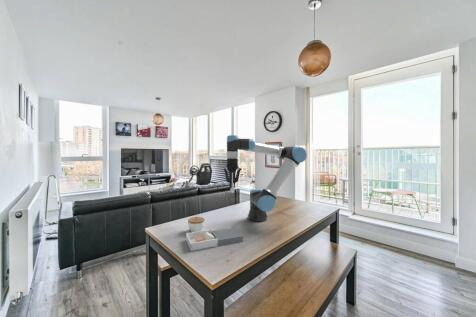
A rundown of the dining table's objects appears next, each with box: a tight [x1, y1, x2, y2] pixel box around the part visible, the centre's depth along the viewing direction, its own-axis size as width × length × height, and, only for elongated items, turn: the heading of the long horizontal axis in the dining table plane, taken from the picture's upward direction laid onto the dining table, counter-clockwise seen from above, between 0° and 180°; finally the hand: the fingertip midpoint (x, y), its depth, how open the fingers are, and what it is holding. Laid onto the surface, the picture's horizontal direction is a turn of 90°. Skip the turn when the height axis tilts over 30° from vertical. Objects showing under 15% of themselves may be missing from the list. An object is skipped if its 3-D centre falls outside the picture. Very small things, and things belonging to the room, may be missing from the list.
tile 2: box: [203, 232, 215, 240], centre depth 116 cm, size 5×5×2 cm
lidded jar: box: [187, 216, 205, 232], centre depth 132 cm, size 11×11×9 cm
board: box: [211, 227, 244, 247], centre depth 120 cm, size 15×14×3 cm
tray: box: [185, 229, 219, 252], centre depth 114 cm, size 15×15×4 cm
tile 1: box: [195, 236, 206, 242], centre depth 114 cm, size 5×5×2 cm
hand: (232, 192), depth 137 cm, fingers closed
